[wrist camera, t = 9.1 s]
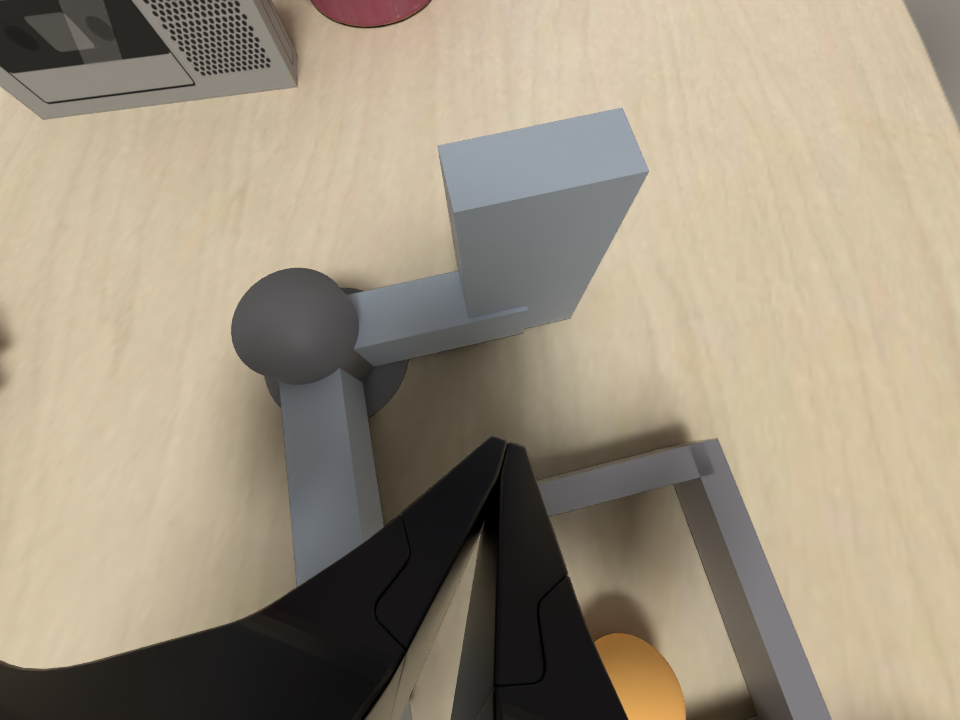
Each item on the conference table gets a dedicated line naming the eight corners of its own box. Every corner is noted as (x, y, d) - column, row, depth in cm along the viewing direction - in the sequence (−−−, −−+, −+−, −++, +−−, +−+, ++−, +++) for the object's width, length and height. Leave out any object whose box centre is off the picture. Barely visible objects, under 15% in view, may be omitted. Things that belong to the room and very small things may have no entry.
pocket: (548, 818, 14) (560, 892, 12) (475, 496, 17) (473, 500, 15) (802, 745, 14) (864, 801, 12) (686, 442, 17) (717, 438, 15)
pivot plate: (376, 447, 18) (374, 447, 17) (241, 400, 18) (237, 399, 18) (429, 312, 19) (428, 310, 19) (304, 275, 20) (301, 272, 20)
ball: (608, 800, 13) (690, 802, 10) (541, 686, 14) (602, 668, 12) (649, 714, 15) (723, 702, 13) (589, 625, 16) (647, 601, 14)
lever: (675, 652, 15) (983, 962, 5) (321, 743, 14) (13, 1250, 5) (551, 260, 19) (607, 72, 10) (282, 319, 19) (83, 179, 10)
